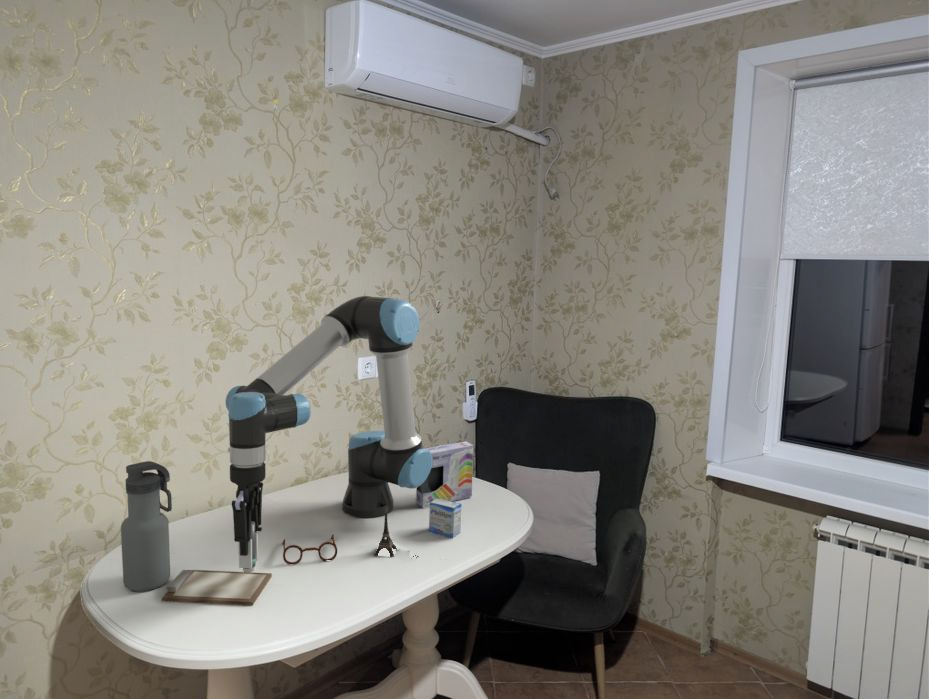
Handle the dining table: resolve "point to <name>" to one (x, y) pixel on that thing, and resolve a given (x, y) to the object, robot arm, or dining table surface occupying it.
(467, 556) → the dining table surface
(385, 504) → the robot arm
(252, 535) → the marker
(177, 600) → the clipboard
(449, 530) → the medicine box
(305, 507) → the dining table surface
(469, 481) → the cake pan box
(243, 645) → the dining table surface
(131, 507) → the water bottle
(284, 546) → the glasses
